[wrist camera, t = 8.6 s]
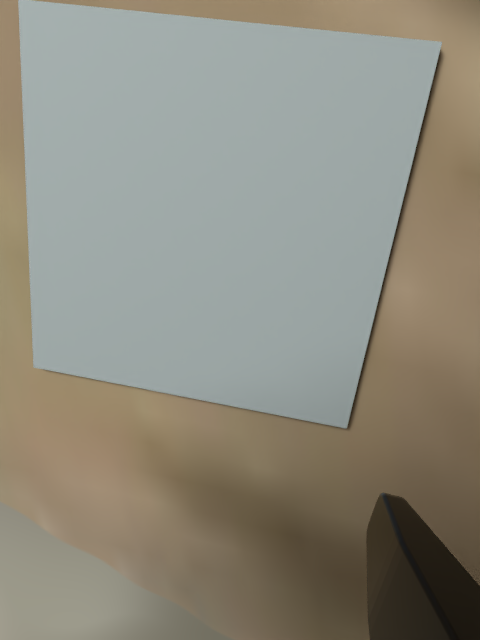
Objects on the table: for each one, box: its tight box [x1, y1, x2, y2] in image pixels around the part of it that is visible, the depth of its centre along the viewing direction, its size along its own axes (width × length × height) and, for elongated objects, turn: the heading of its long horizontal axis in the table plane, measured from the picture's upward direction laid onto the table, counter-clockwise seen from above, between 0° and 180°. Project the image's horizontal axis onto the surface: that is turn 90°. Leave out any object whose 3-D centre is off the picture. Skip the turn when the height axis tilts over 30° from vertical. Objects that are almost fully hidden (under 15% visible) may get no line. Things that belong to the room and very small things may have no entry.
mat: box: [18, 0, 442, 429], centre depth 19 cm, size 16×16×1 cm
